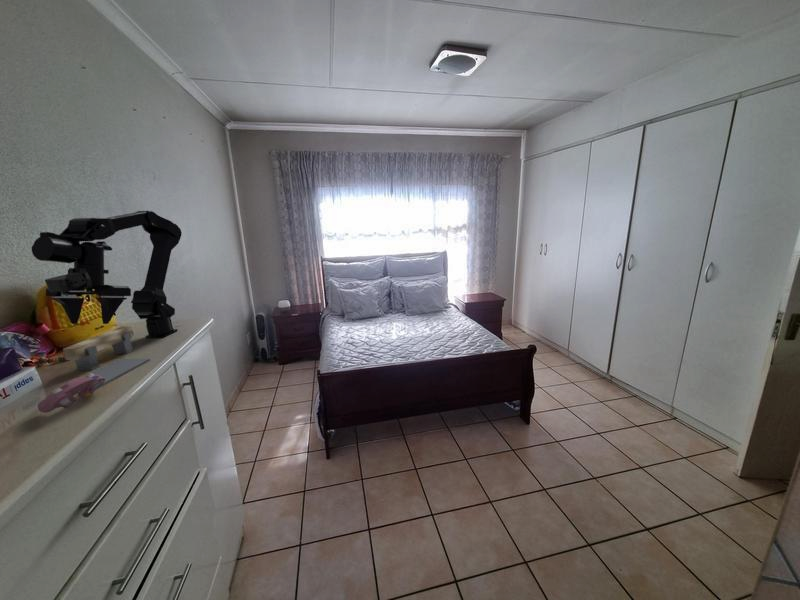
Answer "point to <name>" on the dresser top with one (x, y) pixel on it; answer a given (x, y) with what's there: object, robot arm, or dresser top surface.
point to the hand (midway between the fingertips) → (89, 323)
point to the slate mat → (118, 368)
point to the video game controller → (71, 392)
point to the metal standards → (90, 359)
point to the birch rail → (96, 343)
